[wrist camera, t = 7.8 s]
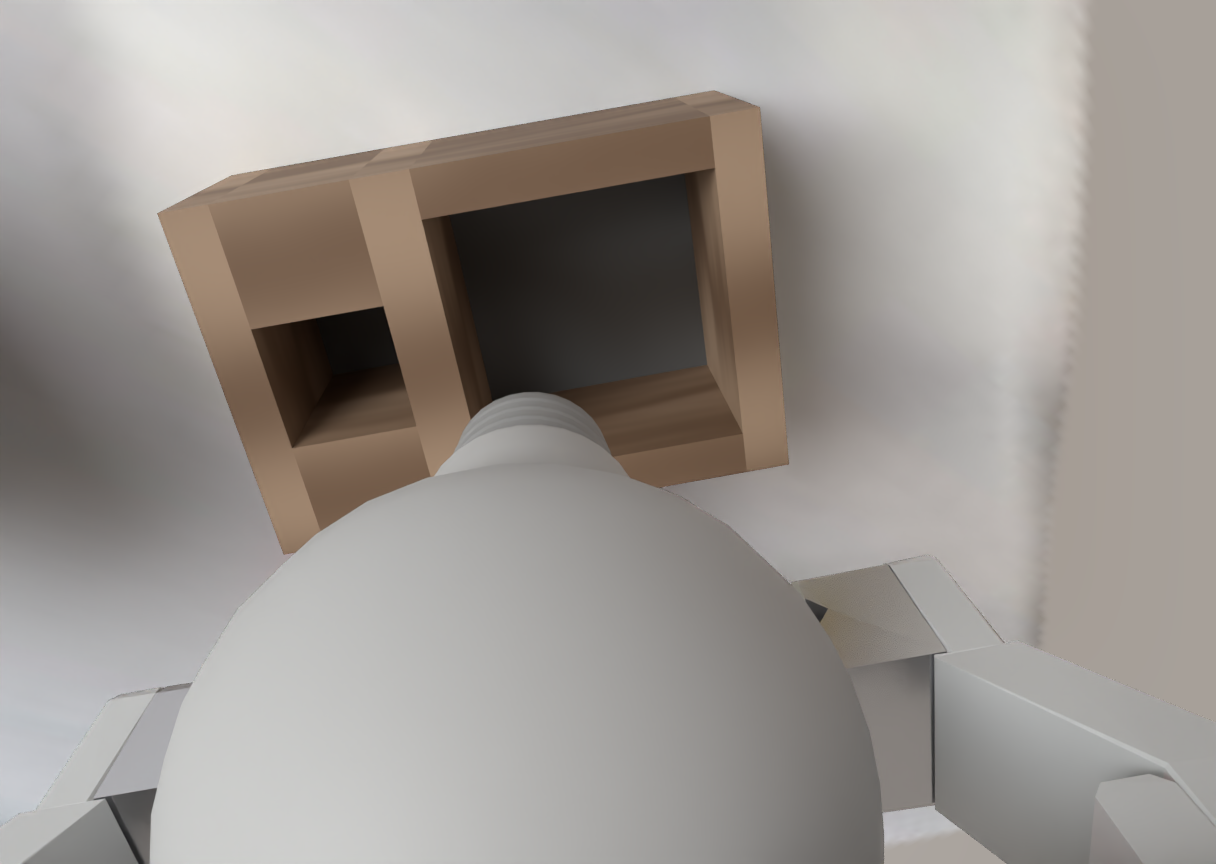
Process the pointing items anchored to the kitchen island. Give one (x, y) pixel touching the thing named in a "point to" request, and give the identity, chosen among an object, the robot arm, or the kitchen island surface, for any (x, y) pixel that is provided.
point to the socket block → (493, 300)
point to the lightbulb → (522, 683)
